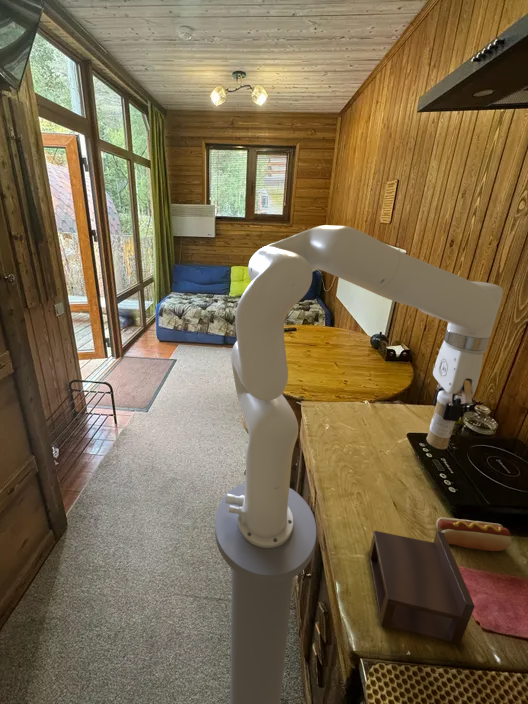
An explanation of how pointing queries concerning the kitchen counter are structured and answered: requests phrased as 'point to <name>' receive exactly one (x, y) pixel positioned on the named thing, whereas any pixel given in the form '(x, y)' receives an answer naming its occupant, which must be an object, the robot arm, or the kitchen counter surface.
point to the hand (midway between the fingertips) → (445, 412)
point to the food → (474, 534)
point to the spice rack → (420, 587)
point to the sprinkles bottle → (440, 423)
